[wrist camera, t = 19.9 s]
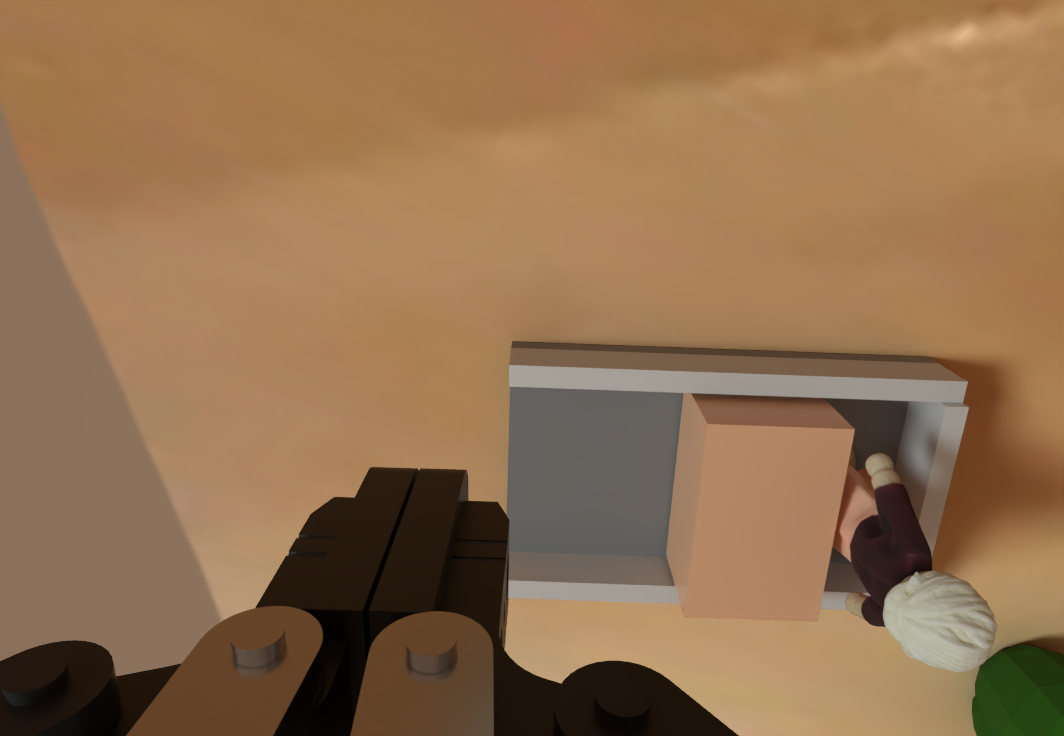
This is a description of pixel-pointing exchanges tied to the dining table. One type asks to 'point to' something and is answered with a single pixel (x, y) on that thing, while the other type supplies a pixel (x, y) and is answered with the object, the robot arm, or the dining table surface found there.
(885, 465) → the grandmother figurine
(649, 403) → the tray
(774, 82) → the dining table surface
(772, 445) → the block
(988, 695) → the bell pepper
